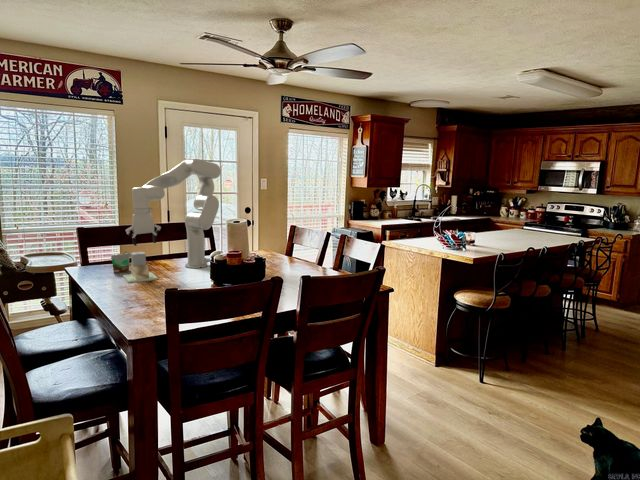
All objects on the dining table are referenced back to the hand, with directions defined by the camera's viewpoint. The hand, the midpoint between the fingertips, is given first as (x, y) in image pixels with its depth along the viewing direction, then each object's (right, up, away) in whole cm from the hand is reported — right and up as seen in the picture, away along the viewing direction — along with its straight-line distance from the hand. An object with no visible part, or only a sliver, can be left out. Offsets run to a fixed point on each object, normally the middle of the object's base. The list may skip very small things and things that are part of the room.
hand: (145, 244), depth 229 cm
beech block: (-1, -17, -3) cm, 17 cm away
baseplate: (-1, -18, -3) cm, 18 cm away
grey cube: (-2, -11, -4) cm, 11 cm away
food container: (-16, -15, +11) cm, 25 cm away
